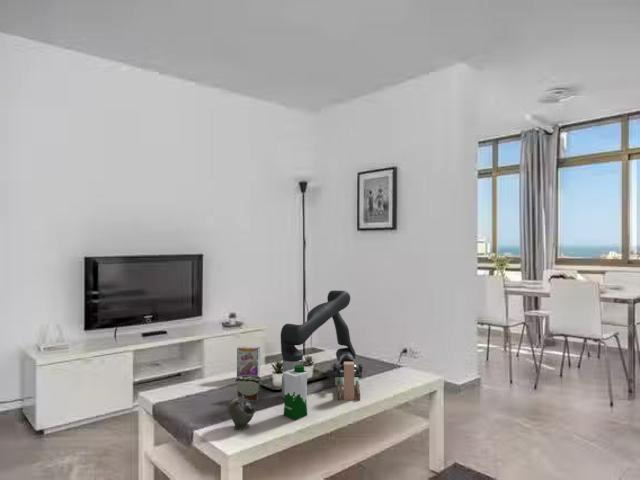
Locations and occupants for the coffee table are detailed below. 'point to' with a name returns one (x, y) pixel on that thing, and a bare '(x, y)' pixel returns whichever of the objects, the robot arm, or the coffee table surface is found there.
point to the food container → (248, 386)
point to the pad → (343, 381)
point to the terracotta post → (348, 380)
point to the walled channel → (356, 390)
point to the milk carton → (295, 392)
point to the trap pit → (343, 373)
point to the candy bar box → (248, 360)
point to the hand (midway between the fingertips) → (348, 372)
